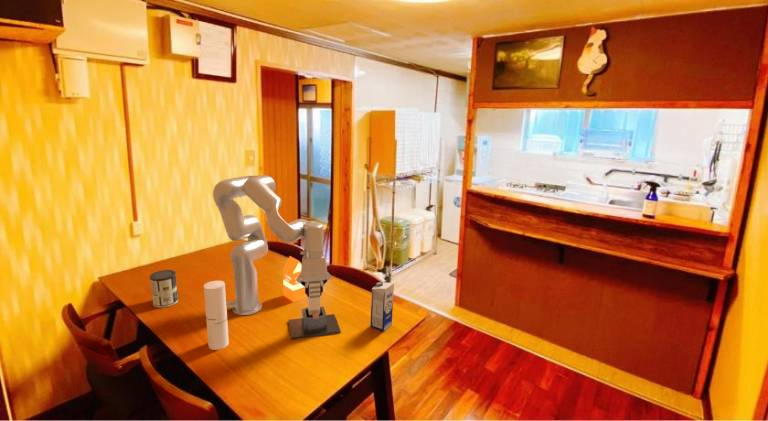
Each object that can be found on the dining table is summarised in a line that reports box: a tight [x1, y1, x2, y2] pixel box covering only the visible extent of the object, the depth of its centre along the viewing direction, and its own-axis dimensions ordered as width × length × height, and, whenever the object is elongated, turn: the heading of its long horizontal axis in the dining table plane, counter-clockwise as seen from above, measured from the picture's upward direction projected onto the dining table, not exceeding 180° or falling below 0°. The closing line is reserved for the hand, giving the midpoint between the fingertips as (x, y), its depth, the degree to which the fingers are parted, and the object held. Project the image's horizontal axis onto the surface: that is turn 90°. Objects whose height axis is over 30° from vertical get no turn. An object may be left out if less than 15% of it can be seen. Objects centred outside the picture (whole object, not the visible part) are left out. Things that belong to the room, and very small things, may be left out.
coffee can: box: [149, 269, 179, 309], centre depth 173 cm, size 10×10×14 cm
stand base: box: [288, 306, 342, 341], centre depth 159 cm, size 20×14×9 cm
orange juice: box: [282, 255, 308, 303], centre depth 184 cm, size 8×9×20 cm
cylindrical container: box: [203, 280, 230, 351], centre depth 143 cm, size 7×7×25 cm
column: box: [307, 281, 321, 315], centre depth 156 cm, size 4×5×14 cm
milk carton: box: [369, 281, 395, 333], centre depth 161 cm, size 7×7×20 cm
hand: (313, 294), depth 156 cm, fingers closed on column, 4 cm apart
